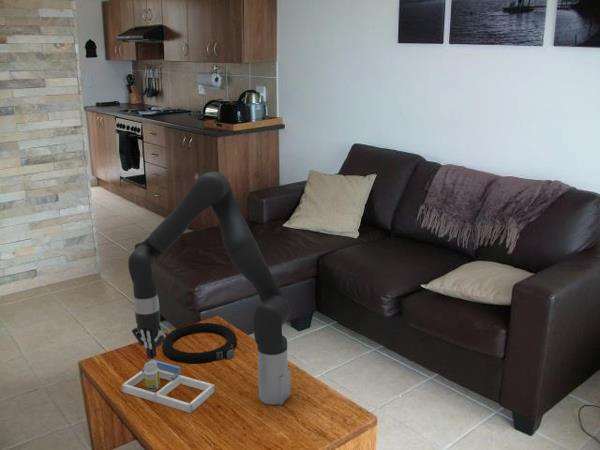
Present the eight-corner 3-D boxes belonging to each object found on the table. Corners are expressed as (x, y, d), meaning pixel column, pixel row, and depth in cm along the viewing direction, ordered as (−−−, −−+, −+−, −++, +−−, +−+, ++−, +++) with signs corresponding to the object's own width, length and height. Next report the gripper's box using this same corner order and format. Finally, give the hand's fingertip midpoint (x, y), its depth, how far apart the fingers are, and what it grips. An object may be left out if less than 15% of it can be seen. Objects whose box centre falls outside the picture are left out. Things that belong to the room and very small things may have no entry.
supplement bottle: (154, 381, 194) (152, 358, 192) (163, 386, 191) (161, 363, 189) (142, 387, 191) (140, 364, 188) (151, 392, 188) (149, 369, 185)
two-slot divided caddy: (216, 390, 189) (215, 376, 187) (190, 413, 177) (189, 398, 175) (150, 371, 200) (149, 358, 199) (122, 391, 188) (120, 378, 187)
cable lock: (201, 315, 236) (256, 335, 218) (201, 323, 237) (257, 344, 219) (145, 340, 215) (202, 365, 197) (146, 350, 216) (203, 375, 198)
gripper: (171, 307, 184) (175, 356, 189) (138, 300, 189) (143, 348, 194) (156, 316, 177) (160, 367, 182) (122, 309, 183) (127, 359, 188)
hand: (151, 357), depth 188 cm, fingers closed
